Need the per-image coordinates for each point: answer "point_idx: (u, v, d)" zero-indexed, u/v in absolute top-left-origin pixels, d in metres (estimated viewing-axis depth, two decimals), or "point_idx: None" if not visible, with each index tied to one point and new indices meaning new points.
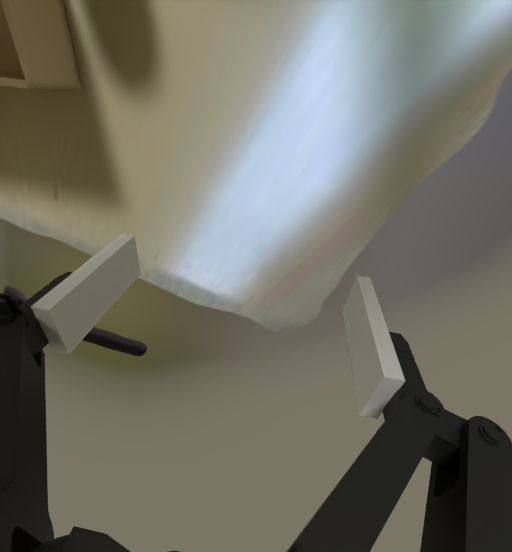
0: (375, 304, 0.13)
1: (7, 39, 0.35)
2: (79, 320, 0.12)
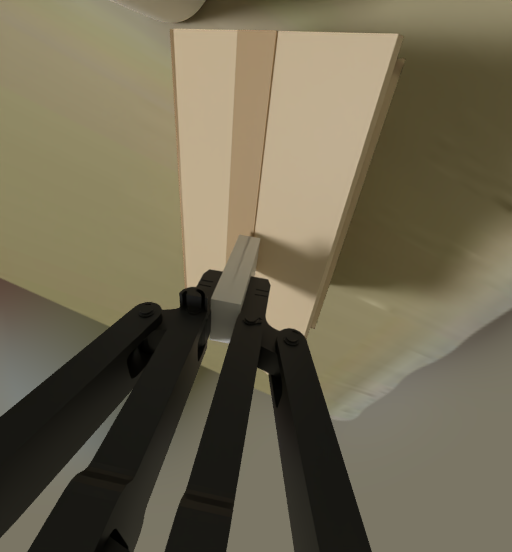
0: (251, 256, 0.15)
1: None
2: None
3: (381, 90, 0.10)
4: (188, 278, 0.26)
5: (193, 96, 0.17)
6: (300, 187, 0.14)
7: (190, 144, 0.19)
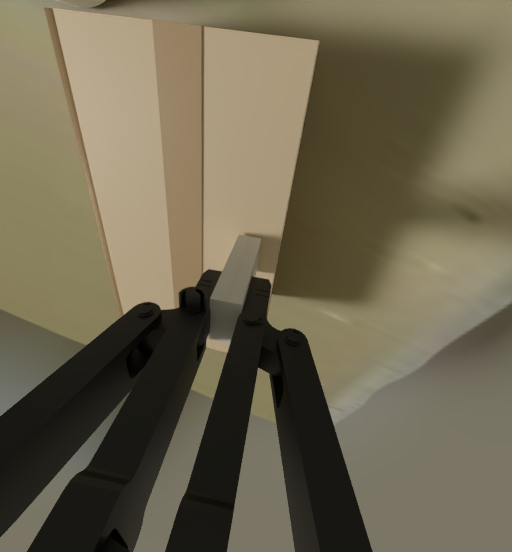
0: (252, 256, 0.15)
1: None
2: None
3: (310, 86, 0.13)
4: (121, 292, 0.24)
5: (98, 89, 0.15)
6: (247, 175, 0.16)
7: (102, 144, 0.17)
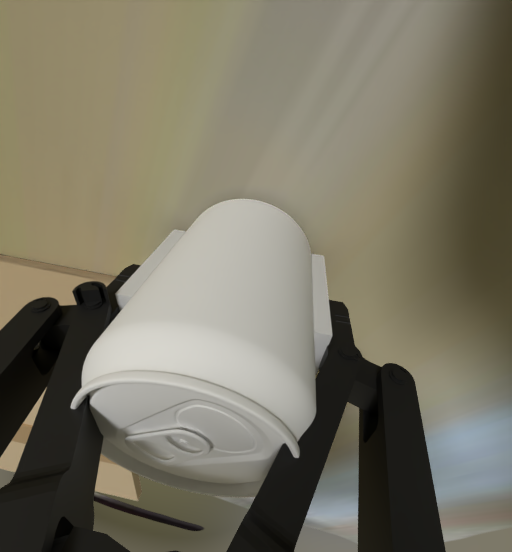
0: (322, 276, 0.15)
1: None
2: None
3: (117, 495, 0.21)
4: None
5: None
6: None
7: None
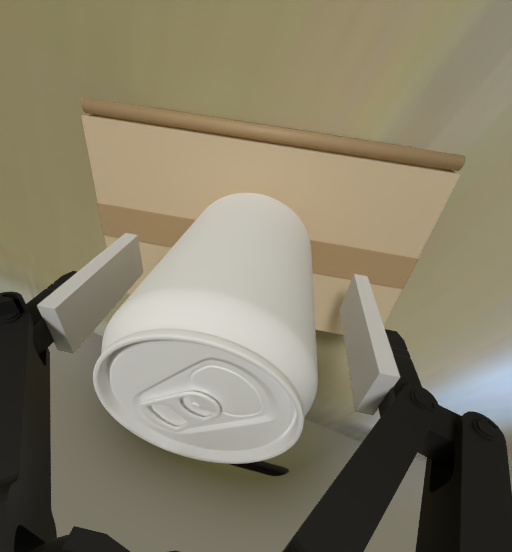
0: (371, 302, 0.13)
1: None
2: (84, 319, 0.13)
3: None
4: (148, 131, 0.16)
5: (391, 197, 0.16)
6: None
7: (345, 181, 0.16)
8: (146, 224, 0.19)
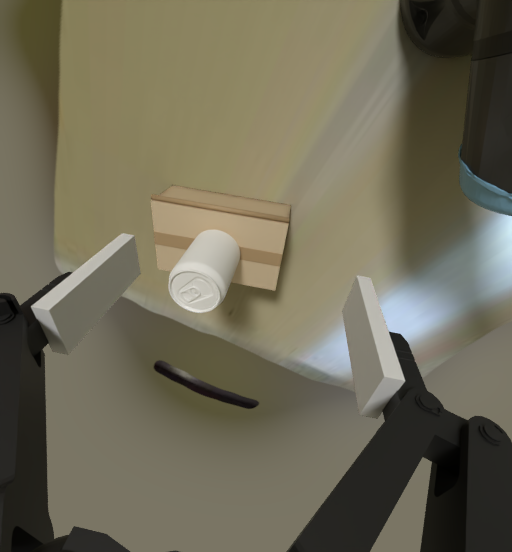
0: (375, 304, 0.13)
1: None
2: (79, 320, 0.12)
3: (266, 288, 0.50)
4: (176, 207, 0.43)
5: (267, 231, 0.43)
6: (243, 272, 0.48)
7: (249, 225, 0.43)
8: (173, 240, 0.47)
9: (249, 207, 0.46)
